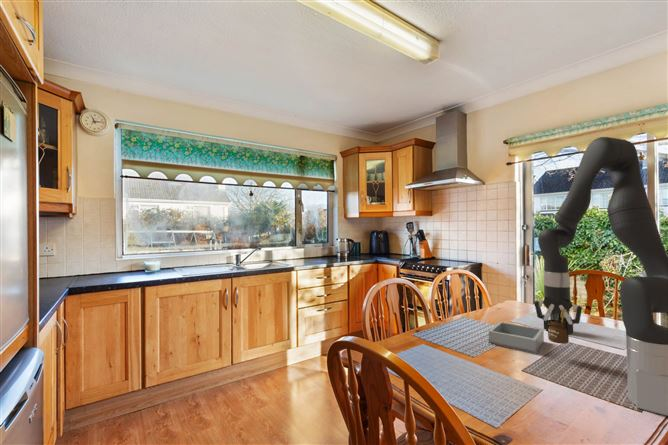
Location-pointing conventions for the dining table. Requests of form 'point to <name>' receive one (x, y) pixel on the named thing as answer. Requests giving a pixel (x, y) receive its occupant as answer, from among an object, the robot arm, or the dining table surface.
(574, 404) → the dining table surface
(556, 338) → the utensil holder
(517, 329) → the bin
